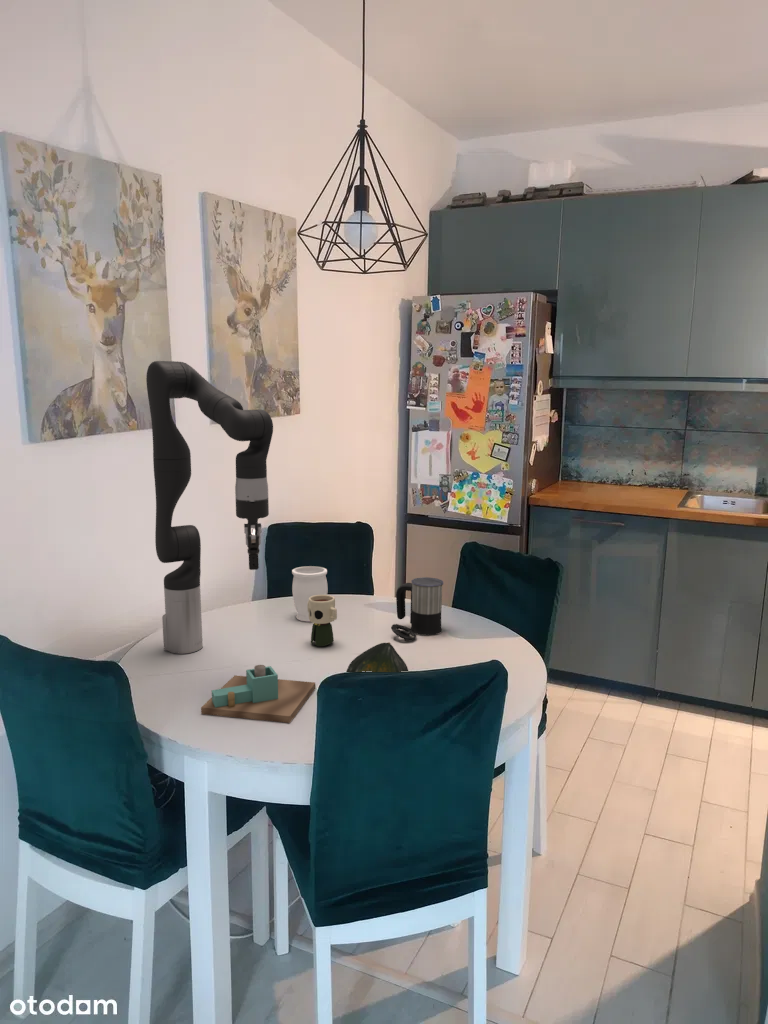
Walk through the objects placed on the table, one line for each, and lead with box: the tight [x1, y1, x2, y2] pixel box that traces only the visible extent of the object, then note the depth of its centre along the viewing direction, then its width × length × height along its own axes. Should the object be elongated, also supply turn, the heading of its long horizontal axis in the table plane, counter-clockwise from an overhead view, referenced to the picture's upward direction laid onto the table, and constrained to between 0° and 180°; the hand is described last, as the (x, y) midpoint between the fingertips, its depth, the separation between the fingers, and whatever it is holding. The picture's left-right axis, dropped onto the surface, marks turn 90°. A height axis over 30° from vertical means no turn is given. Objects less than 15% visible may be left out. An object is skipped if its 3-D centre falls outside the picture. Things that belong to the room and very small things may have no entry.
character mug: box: [307, 594, 338, 647], centre depth 199 cm, size 11×7×13 cm, turn 49°
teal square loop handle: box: [211, 665, 279, 708], centre depth 161 cm, size 14×6×6 cm, turn 114°
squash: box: [346, 642, 409, 672], centre depth 160 cm, size 14×15×15 cm
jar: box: [291, 565, 329, 623], centre depth 221 cm, size 11×10×15 cm
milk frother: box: [390, 576, 444, 642], centre depth 207 cm, size 14×16×15 cm
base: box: [200, 664, 317, 724], centre depth 163 cm, size 20×18×8 cm
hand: (253, 568), depth 173 cm, fingers closed
